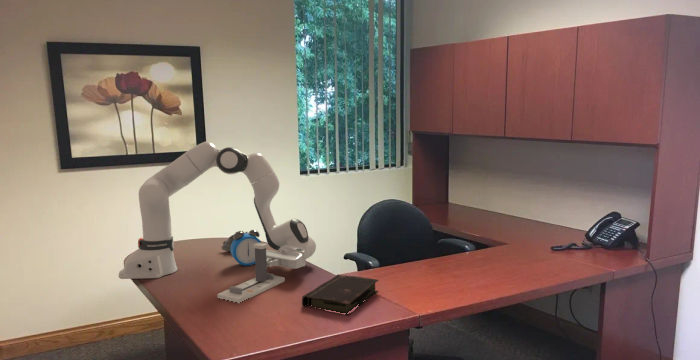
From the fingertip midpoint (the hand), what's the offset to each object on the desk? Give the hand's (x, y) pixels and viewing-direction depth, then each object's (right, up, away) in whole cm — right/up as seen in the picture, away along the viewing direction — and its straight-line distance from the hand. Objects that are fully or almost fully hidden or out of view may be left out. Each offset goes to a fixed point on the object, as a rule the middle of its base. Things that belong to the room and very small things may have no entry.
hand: (266, 264), depth 191 cm
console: (-4, -8, -6) cm, 11 cm away
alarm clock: (-12, -4, +24) cm, 28 cm away
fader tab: (-2, -6, -2) cm, 7 cm away
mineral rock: (-21, -2, +45) cm, 50 cm away
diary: (+30, -10, -16) cm, 35 cm away
